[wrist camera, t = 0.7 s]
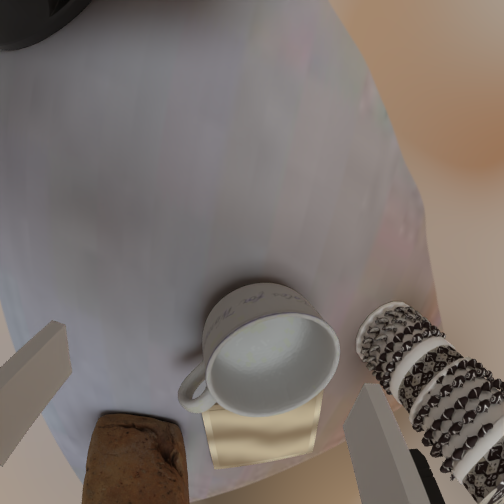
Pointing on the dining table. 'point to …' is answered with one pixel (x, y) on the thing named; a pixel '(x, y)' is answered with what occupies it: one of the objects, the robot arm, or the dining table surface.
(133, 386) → the dining table surface
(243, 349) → the teacup
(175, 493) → the block
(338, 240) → the dining table surface
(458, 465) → the decorative candle
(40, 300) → the dining table surface
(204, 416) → the beige packet
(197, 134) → the dining table surface
